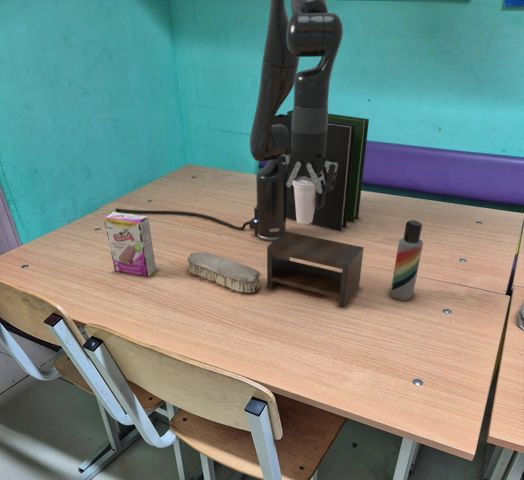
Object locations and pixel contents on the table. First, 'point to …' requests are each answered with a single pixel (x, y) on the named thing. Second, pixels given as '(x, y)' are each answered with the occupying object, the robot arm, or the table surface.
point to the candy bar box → (130, 243)
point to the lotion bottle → (407, 261)
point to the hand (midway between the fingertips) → (305, 204)
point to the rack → (313, 276)
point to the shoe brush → (224, 272)
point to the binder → (349, 170)
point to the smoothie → (304, 199)
